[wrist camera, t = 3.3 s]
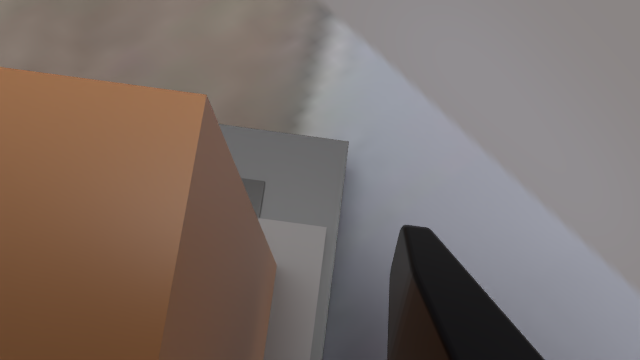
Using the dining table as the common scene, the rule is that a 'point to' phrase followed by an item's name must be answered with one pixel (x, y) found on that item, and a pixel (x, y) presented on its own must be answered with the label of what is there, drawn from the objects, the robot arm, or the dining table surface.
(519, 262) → the dining table surface
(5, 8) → the dining table surface
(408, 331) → the robot arm
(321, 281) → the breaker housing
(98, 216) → the handle
